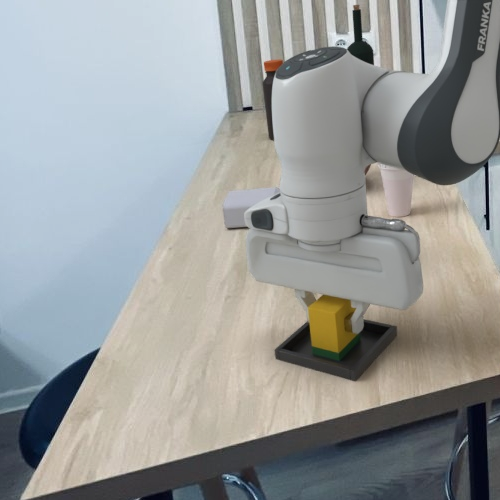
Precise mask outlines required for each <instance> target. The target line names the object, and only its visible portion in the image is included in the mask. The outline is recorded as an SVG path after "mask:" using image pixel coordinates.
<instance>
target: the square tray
mask: <svg viewBox="0 0 500 500" xmlns="http://www.w3.org/2000/svg"><path fill="white" fill-rule="evenodd" d="M363 320H364V327H363V330H362V331H361V332H360V338H361V340H360V341H359V342H358V343H357V344H356V345H355V346H354V347H353V348H352V349H351V350H350V351H349V352H348V353H347V354H346V355H345V356H344V357H343V358H342V359H341V360H340V361H337V360H334V359H330V358H326V357H322V356H318V355H315V354H313V353H312V342H311V333H310V323H308V322H307V321H306V322H304V323H303V324H302V325H301V326H300V327H298V328H297V329H296V330H295V331H294V332H293V333H292V334H290V336H289V337H287V338H286V339H285V340H283V342H281V343H280V344H279V345H278V346H277V347H276V348H274V350H273V351H274V357H275V360H277V361H281V362H285V363H288V364H291V365H295V366H298V367H303V368H306V369H309V370H313V371H316V372H320V373H324V374H327V375H330V376H335V377H338V378H342V379H344V380H348V381H352V382H357V381H358V379H360V377H362V375H363V374H364V373H365V372H366V371H367V370H368V369H369V368H370V366H372V364H373V363H374V362H375V361H376V360H377V359H378V358H379V356H380V355H381V354H382V353H383V352H384V351H385V350H386V349H387V347H389V345H391V343H392V342H393V341H394V340H395V339H396V338H397V336H398V326H397V325H392V324H389V323H383V322H379V321H374V320H371V319H365V318H363Z"/></svg>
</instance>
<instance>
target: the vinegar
mask: <svg viewBox="0 0 500 500" xmlns="http://www.w3.org/2000/svg"><path fill="white" fill-rule="evenodd" d="M283 63H284V60H283V59H281V58H280V59H270V60H266V61H264V62H263V69H264V73H265V75H266V76H265V78H264V79H263V81H262V90H263V91H262V92H263V100H264V107H265V115H266V116H265V117H266V124H267V135H268V139H269V140H271V141H274V133H273V122H272V86H273V80H274V76H275V73H276V71H277V69H278V68H279V67H280V66H281V65H282V64H283Z"/></svg>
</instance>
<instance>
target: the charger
mask: <svg viewBox="0 0 500 500" xmlns="http://www.w3.org/2000/svg"><path fill="white" fill-rule="evenodd" d="M279 192H280V187H277V186H274V187H273V186H272V187H261V188H249V189H235V190H229V191H228V193H227V195H226V197H225V199H224V201H223V203H222V214H223V221H224V227H225V229H234V228H236V229H237V228H248V227H247V225H246V223H245V219H244V213H245V211H246V210H248V209H249V208H251V207H252V206H254V205H255V204H257V203H258V202H260V201H262V200H264V199H266V198H268V197H270V196H272V195H274V194H276V193H279Z"/></svg>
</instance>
